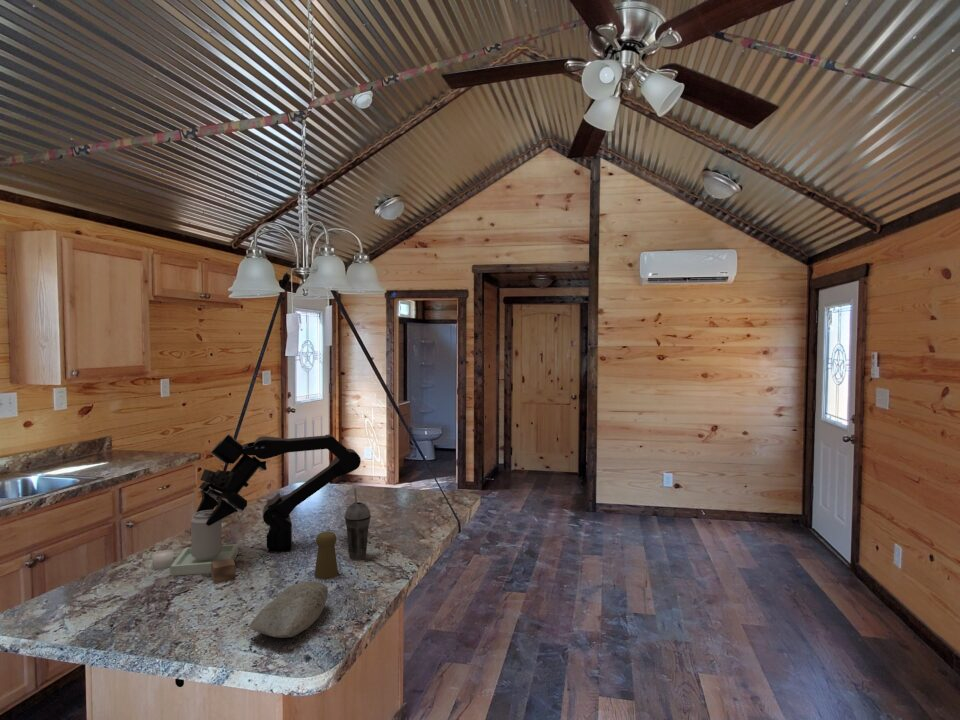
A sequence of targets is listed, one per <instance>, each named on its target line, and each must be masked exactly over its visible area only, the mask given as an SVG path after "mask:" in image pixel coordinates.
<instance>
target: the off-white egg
mask: <svg viewBox="0 0 960 720" xmlns="http://www.w3.org/2000/svg"><path fill="white" fill-rule="evenodd" d="M174 557H175V556H174V550H172V549H163V550H158V551H155V552H153V553H152V558H151V559H152V562H151V563H152V565H151V567H152V569H153V570H166V569H169V568H170V566H171V565H172V564H173V562H174V561H175V559H174Z"/></svg>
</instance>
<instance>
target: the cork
mask: <svg viewBox="0 0 960 720" xmlns="http://www.w3.org/2000/svg"><path fill="white" fill-rule="evenodd" d="M337 540H338V539H337V535H336V534H335V532H333V531H322V532H320V533H319V534H317V536H316V538H315V543H316V546H317V553H316V560H315V569H314V574H313V576H314V577H315V578H316V579H317V580H329V579H333V578H336V577H337V576H338V575H339V569H338V562H337V554H336V547H335V545H336V543H337Z"/></svg>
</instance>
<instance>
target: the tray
mask: <svg viewBox="0 0 960 720" xmlns="http://www.w3.org/2000/svg"><path fill="white" fill-rule="evenodd" d="M238 553H239V544H238V543H234V544H231V543H230V544H222V551H221V553H220V554H219V555H218V556H216V557H214V558H211V559H206V560H198V559H195V558H194V557H193V556H192V555H191V546H190V547H189V546H188V547H185V548H184V549H183V550H182V551H181V552H180V553H179V555H178V556H177V557H176V559H174V562H173V564H172V565H171V566H170V567H169V568H170V569H169V571H170V572H169V574H170V577H176V576H187V575H190V576H191V575H200V574H211V562H213V561H218V560H224V559H230V558H232V559H233V561H234V562H235V560H236V558H237V555H238Z"/></svg>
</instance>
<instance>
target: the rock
mask: <svg viewBox="0 0 960 720" xmlns="http://www.w3.org/2000/svg"><path fill="white" fill-rule="evenodd" d="M328 595H329V590H328V587H327V586H326V585H325V584H324V583H323V582H320V581H317V580H308V581H302V582H299V583H298V582H297V583H295V584H292V585H290V586H289V587H287V588H285V589H284V590H283V591H282V592H281V593H279V595H277V596H276V598H274V599H273V600H272V601H270V603H269V604H267V605H266V606H265V607H264V608H262V609H261V610H260V611H259V612H258V613H257V615H256V616H255V617H254V618H253V619H252V621H251V622H250V624H249V629H250V630H252V631H254V632H257V633H259V634H263V635H266V636H269V637H273V638H279V639H280V638H281V639H283V638H284V639H285V638H286V639H288V638H293V637H295V636H297V635H298V634H300V633H302V632H304V631H305V630H307V629H308V628H310V627H311V626H312V625H313V624H314V623H315V622H316V621H317V620H318V618H320V615H321V614H322V612H323V610H324V608H325V606H326V603H327V600H328V599H327V598H328Z"/></svg>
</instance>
